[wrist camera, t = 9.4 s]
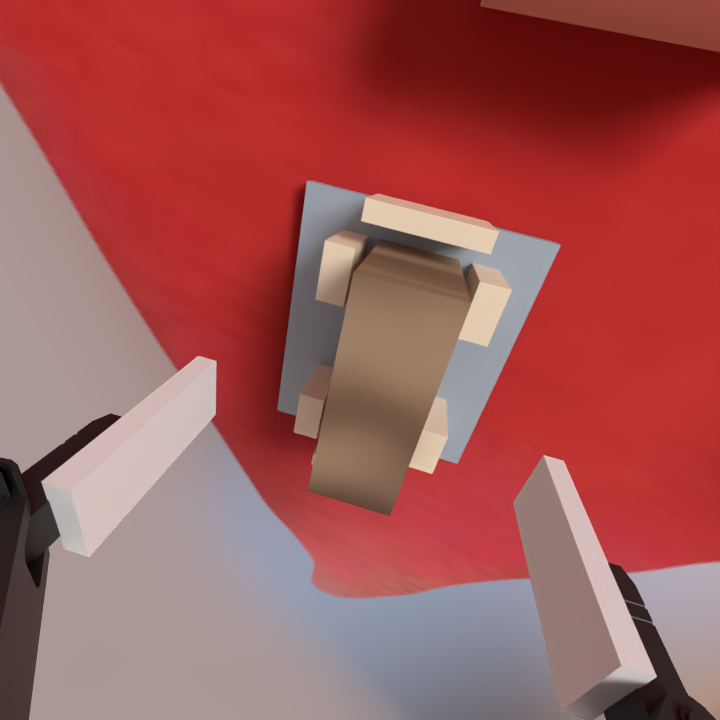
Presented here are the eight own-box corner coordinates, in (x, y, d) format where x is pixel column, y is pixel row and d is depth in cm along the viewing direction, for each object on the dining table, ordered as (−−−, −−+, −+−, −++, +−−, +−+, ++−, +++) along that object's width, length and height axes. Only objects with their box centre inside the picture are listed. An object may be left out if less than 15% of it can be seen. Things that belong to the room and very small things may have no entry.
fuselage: (381, 239, 21) (353, 272, 14) (459, 259, 20) (471, 303, 13) (341, 406, 26) (307, 490, 19) (401, 424, 26) (389, 515, 19)
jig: (312, 175, 21) (279, 175, 16) (557, 237, 20) (591, 255, 15) (281, 405, 29) (253, 447, 24) (455, 456, 28) (459, 509, 23)
